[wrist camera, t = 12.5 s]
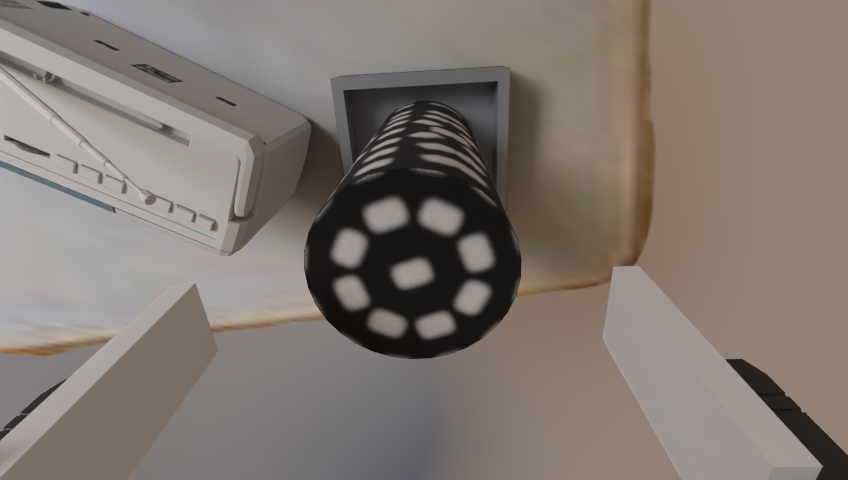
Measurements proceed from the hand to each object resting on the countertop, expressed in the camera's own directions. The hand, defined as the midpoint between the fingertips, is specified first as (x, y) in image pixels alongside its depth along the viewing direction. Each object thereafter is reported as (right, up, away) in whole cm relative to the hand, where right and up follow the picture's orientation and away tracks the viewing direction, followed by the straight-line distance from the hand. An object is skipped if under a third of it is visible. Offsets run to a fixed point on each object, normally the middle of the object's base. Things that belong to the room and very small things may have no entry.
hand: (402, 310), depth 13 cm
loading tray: (+1, +10, +22) cm, 24 cm away
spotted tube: (+1, +9, +21) cm, 23 cm away
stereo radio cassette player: (-18, +14, +21) cm, 31 cm away
